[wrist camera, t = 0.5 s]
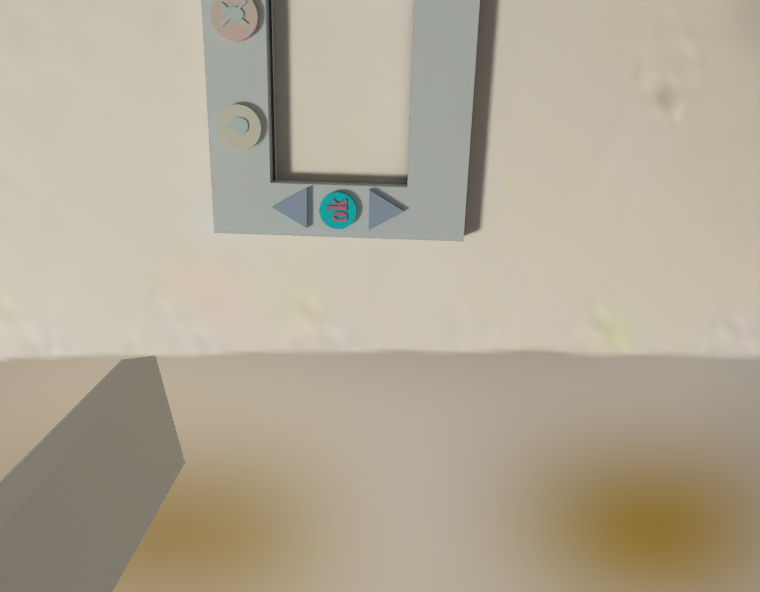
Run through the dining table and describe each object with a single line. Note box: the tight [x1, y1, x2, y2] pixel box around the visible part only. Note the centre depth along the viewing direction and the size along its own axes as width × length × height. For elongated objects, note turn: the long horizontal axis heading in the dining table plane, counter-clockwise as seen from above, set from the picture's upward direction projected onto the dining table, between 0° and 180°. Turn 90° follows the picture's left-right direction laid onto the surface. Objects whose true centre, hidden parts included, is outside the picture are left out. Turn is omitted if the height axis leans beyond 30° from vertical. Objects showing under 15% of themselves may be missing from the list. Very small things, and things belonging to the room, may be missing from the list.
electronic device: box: [201, 0, 480, 241], centre depth 36 cm, size 18×2×15 cm
